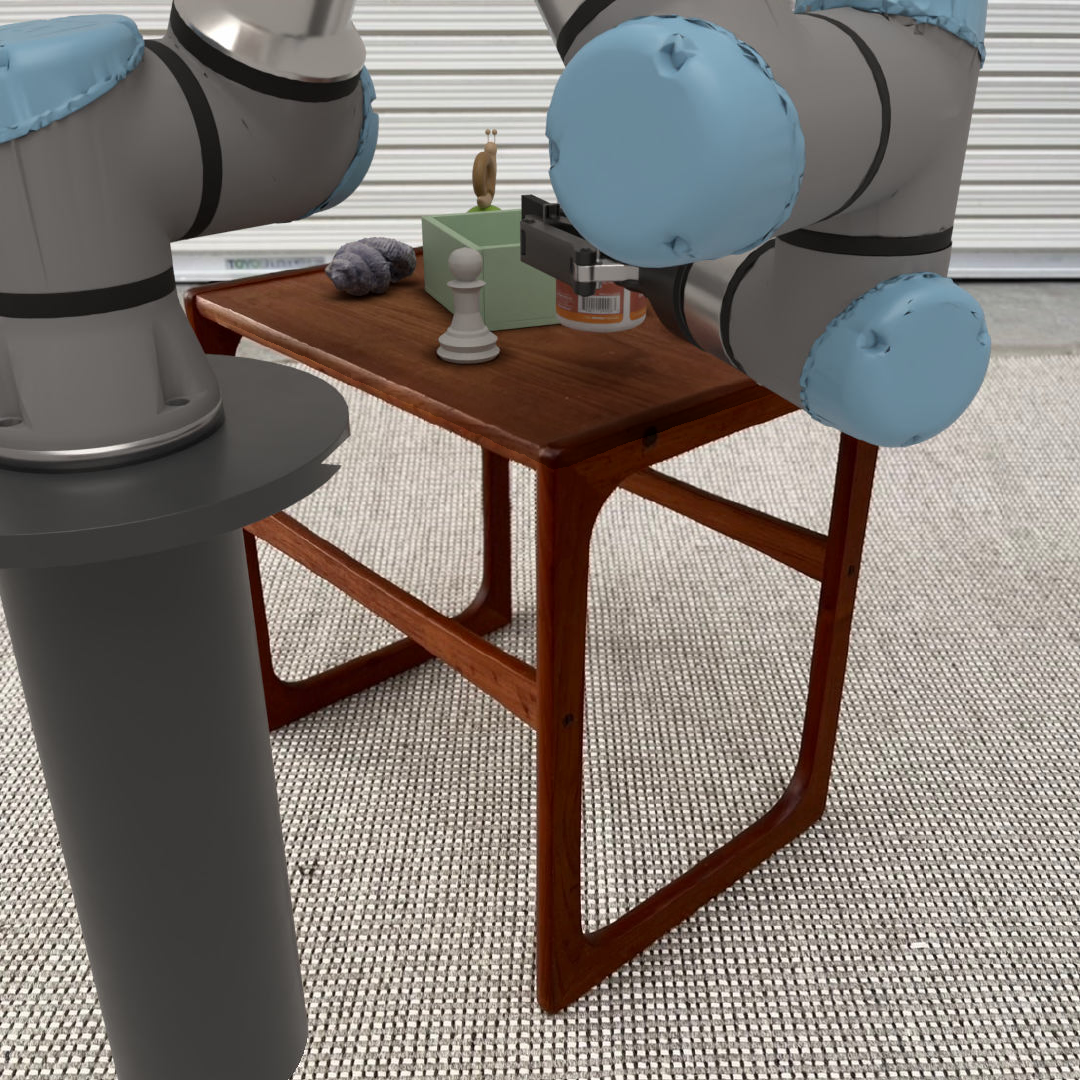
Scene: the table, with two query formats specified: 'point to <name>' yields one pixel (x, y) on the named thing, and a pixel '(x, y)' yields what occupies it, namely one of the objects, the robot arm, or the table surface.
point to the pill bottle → (600, 308)
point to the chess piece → (467, 313)
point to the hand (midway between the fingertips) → (573, 211)
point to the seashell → (371, 265)
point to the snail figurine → (485, 176)
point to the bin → (489, 268)
